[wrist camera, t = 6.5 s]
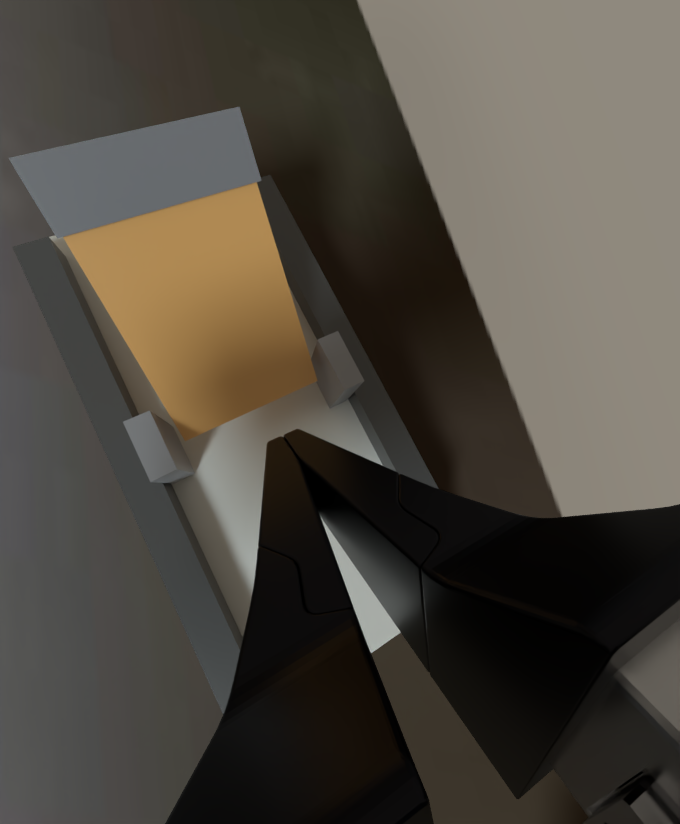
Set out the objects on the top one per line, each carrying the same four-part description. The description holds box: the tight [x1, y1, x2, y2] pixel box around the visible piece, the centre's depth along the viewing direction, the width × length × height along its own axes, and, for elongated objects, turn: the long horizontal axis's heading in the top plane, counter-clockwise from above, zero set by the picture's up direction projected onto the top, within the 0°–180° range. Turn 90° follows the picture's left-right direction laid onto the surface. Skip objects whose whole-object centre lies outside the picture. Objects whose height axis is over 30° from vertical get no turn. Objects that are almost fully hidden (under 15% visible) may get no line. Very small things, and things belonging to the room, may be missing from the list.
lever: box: [9, 107, 318, 441], centre depth 11 cm, size 2×5×8 cm
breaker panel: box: [13, 175, 438, 714], centre depth 15 cm, size 20×10×6 cm, turn 28°
